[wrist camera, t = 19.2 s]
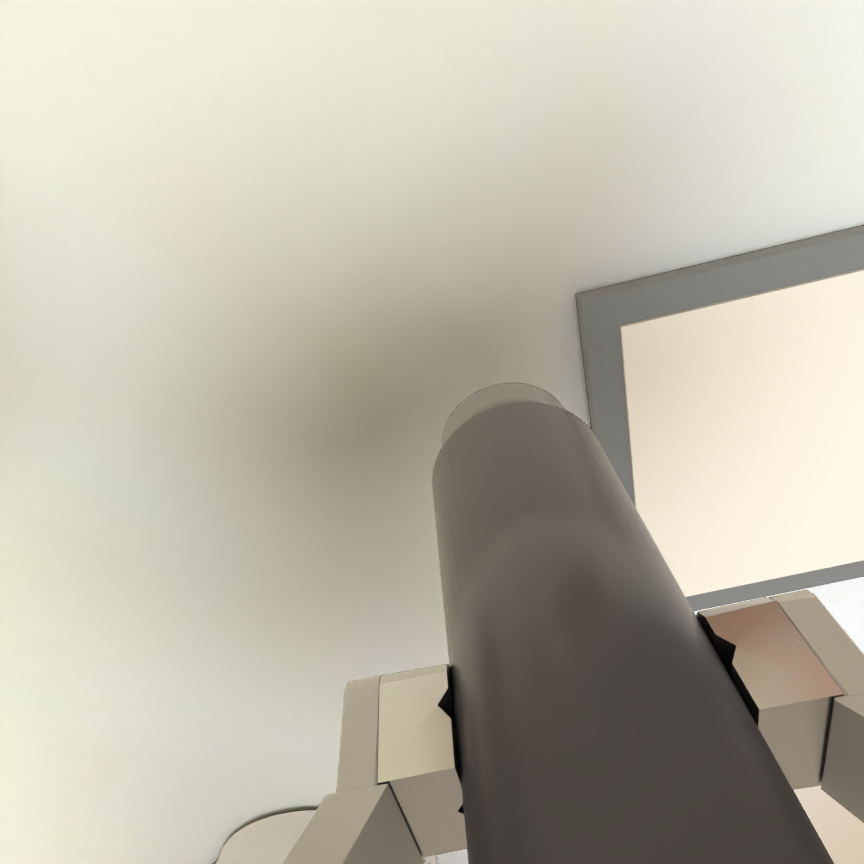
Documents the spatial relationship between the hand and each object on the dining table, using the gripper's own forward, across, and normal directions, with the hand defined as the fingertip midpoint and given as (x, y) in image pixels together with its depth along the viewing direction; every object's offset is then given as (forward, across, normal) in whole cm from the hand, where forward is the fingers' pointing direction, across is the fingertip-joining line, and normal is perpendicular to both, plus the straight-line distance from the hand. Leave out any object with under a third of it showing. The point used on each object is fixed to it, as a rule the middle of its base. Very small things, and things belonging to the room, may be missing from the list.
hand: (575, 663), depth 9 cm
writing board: (+20, +13, -12) cm, 27 cm away
